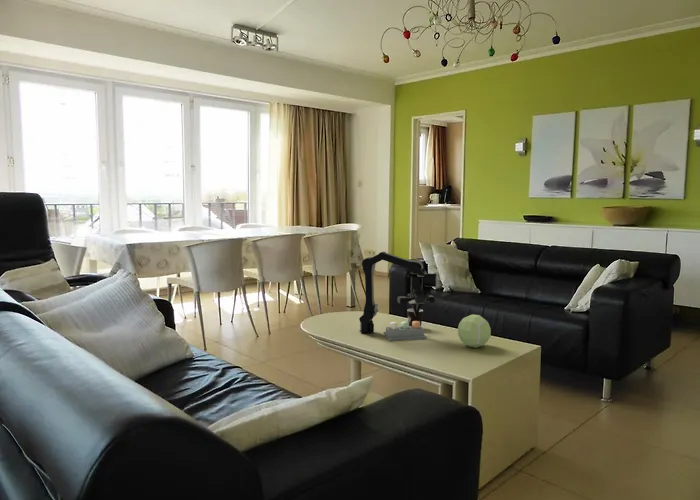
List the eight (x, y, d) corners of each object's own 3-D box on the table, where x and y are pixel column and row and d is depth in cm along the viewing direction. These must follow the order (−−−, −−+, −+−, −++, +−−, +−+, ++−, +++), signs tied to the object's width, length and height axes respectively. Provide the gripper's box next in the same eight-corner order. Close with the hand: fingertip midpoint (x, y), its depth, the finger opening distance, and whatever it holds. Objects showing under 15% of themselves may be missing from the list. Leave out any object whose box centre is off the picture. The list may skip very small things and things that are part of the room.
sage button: (402, 331, 264) (402, 323, 264) (400, 329, 268) (400, 321, 268) (409, 330, 265) (409, 323, 264) (407, 328, 269) (407, 321, 268)
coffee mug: (423, 330, 279) (424, 311, 278) (407, 330, 280) (407, 311, 279) (421, 325, 291) (421, 307, 290) (405, 324, 291) (405, 307, 290)
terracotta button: (413, 330, 265) (413, 322, 265) (411, 328, 269) (411, 321, 269) (421, 330, 266) (421, 322, 265) (418, 328, 270) (418, 320, 269)
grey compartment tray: (390, 340, 259) (390, 332, 258) (383, 334, 271) (383, 325, 271) (426, 339, 262) (426, 330, 262) (418, 332, 275) (418, 324, 274)
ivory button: (390, 331, 263) (390, 324, 263) (388, 329, 267) (388, 322, 267) (398, 331, 264) (398, 323, 263) (396, 329, 268) (396, 321, 267)
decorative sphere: (452, 346, 248) (452, 315, 247) (467, 340, 260) (467, 310, 258) (480, 352, 239) (481, 320, 237) (495, 345, 250) (496, 315, 248)
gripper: (403, 289, 256) (402, 320, 257) (439, 288, 259) (438, 318, 261) (397, 285, 267) (396, 315, 268) (432, 284, 270) (431, 314, 271)
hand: (416, 316), depth 267 cm, fingers closed
